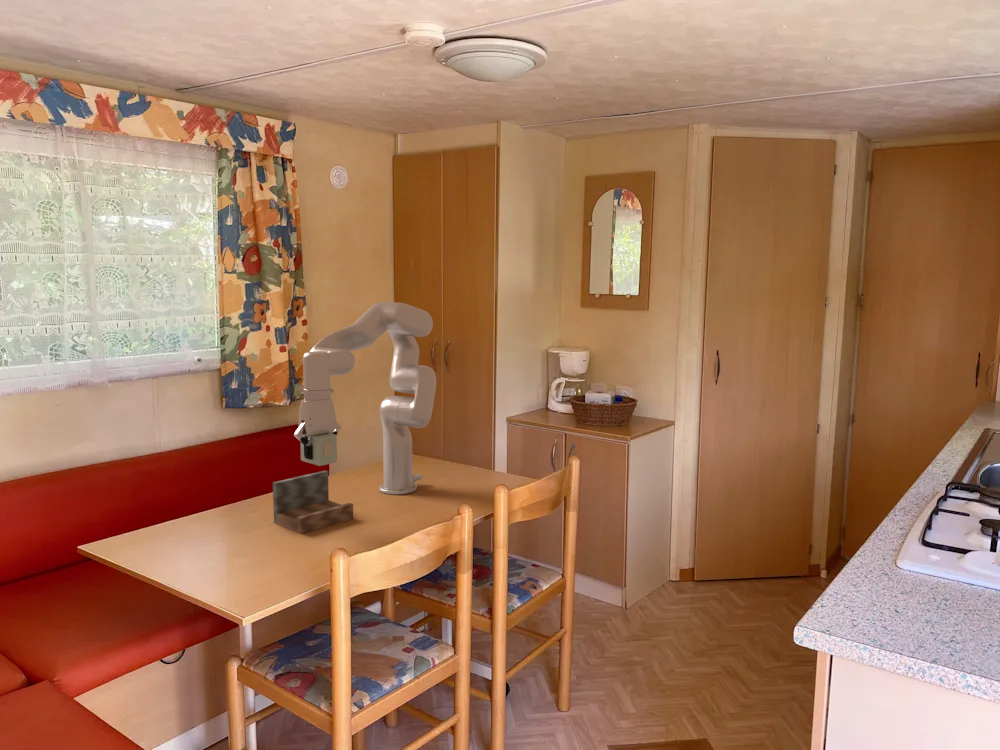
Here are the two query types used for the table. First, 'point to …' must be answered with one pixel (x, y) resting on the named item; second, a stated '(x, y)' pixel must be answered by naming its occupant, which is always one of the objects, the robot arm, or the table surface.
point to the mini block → (322, 449)
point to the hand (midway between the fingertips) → (318, 456)
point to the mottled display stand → (307, 503)
